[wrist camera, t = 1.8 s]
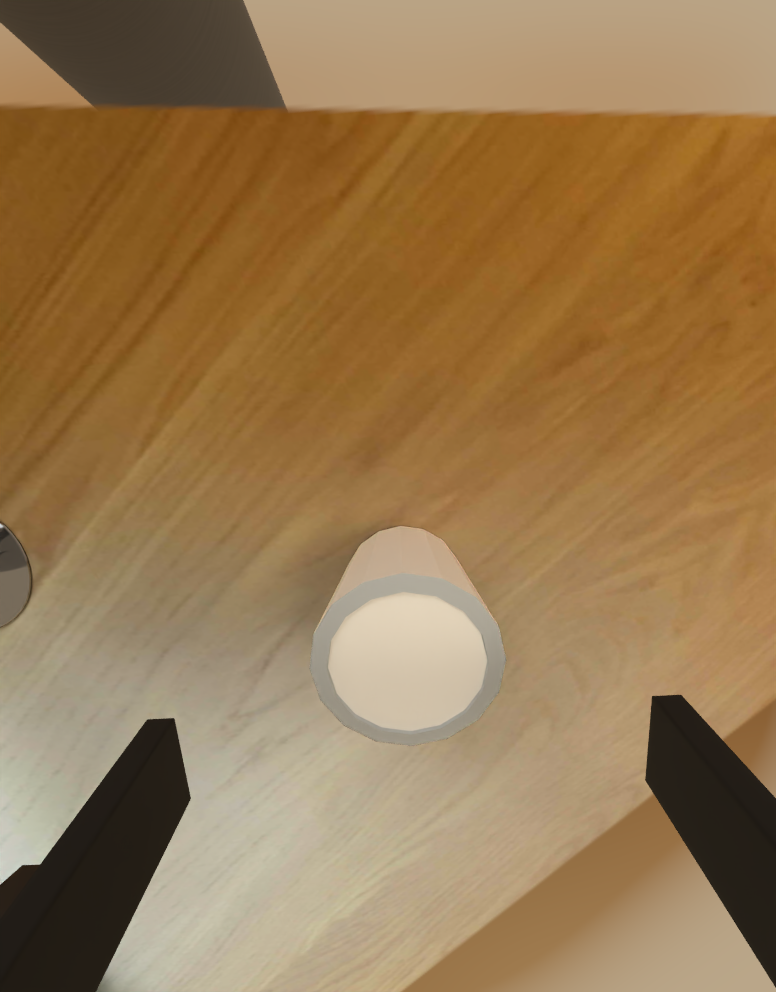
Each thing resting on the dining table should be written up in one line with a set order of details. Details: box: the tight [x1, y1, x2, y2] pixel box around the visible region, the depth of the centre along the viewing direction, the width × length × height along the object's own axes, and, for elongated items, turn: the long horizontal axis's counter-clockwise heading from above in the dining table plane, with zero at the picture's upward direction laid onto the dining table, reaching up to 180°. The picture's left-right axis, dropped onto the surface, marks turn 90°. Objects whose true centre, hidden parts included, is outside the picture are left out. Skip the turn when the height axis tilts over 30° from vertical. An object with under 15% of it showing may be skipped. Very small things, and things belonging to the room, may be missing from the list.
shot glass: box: [310, 526, 506, 746], centre depth 19 cm, size 7×7×7 cm
